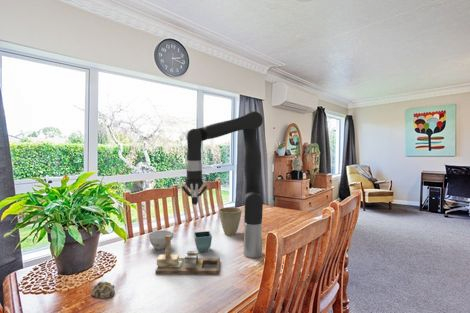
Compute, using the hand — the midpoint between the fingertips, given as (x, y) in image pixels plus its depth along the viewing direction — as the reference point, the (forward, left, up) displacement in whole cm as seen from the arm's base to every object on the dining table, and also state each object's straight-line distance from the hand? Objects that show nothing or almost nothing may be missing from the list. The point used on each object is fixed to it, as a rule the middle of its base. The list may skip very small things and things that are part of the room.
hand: (194, 204), depth 126 cm
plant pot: (-18, -39, -28) cm, 52 cm away
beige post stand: (+11, +8, -26) cm, 29 cm away
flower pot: (-3, -12, -28) cm, 31 cm away
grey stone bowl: (+20, -16, -28) cm, 39 cm away
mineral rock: (+31, +28, -29) cm, 51 cm away
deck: (+1, +8, -28) cm, 29 cm away
